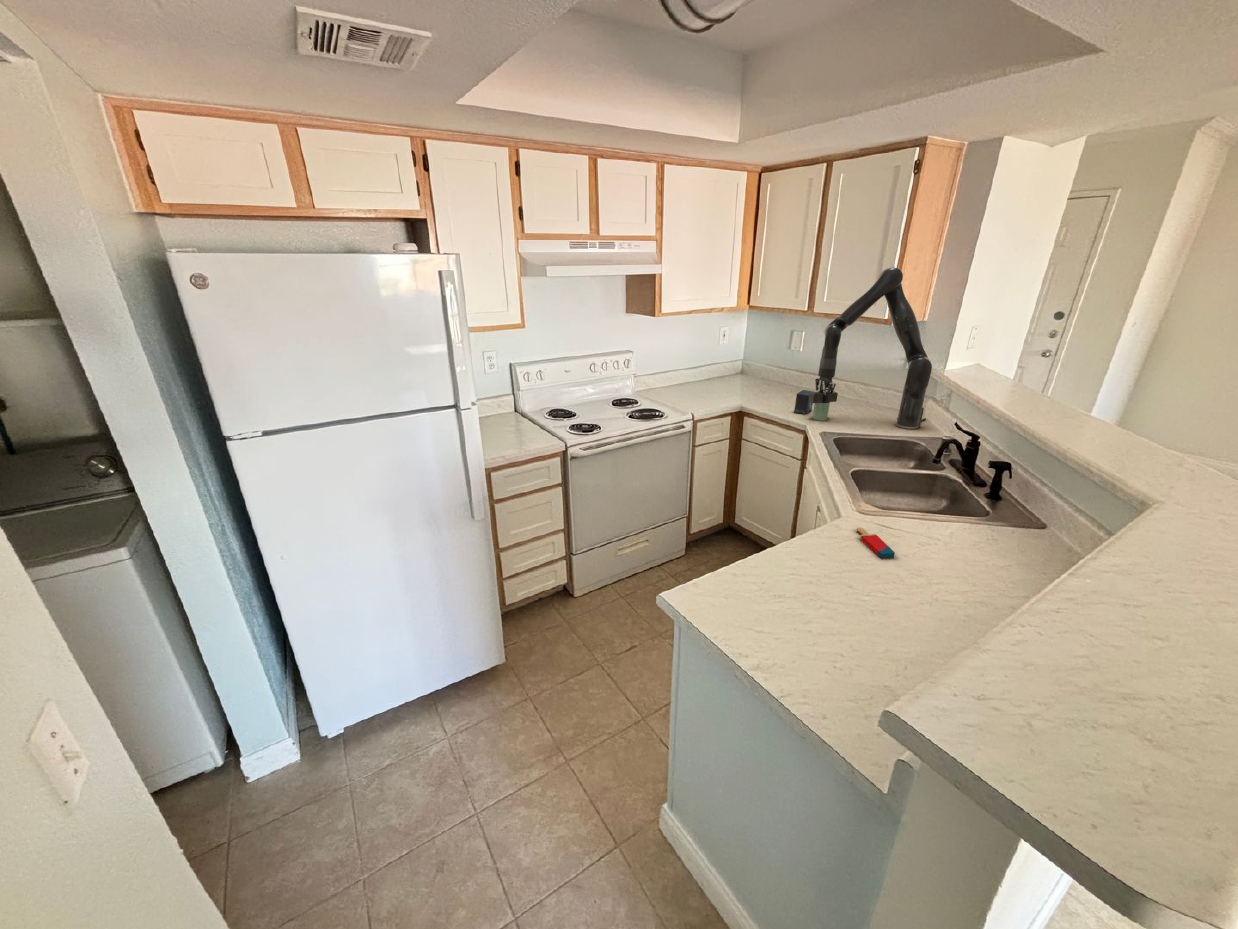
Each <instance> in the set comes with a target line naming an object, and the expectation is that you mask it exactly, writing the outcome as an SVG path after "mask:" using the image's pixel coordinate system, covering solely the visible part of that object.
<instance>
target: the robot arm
mask: <svg viewBox="0 0 1238 929" xmlns="http://www.w3.org/2000/svg"><path fill="white" fill-rule="evenodd" d="M903 280H904V273H903V271H902V270H901V269H900V268H898V267H888V268H885V269H883V270H882V271H881V272H880V274H879V275H878V277H877V281H875V283H874V284H873V285H872V286H871V287H870V288H869V289H868V290H867V291H866V292H865V293H864V294H863V295H860V297H859V298H857V299H856V300H855V301H854V302H852V303H851V304H850V305H849V306H848V307H847V308H846V309H845V310H844V311H843V312H841V314H840V315H838V316H837V317H836V318H834V320H832V321H831V322H830V323H829V324H827V325H826V327H825V328H824V331H823V334H824V341H823V342H824V343H823V346H822V349H821V355H820V356H821V357H820V360H819V366H818V372H817V376H818V377H819V378H818V377H817V378H815V381H814V382H815V392H824V398H823V402H824V403H826V402H828V398H829V395H831V394H832V393H833V391H834V390H835V388H836V383H834V382H833V379H834V378H835V376H836V369H837V363H838V352H839V346H840V343H841V339H842V332H843V331H844V330H846V329H847V328H848V327H850V326H852V325H853V324H854V323H855V322H856V321H858V320H859V319H860V318H861V317H862V316H863V315H864V314H865V313H866V312H867V311H868V310H869V309H871V307H872V306H873V305H874V304H876V303H877V302H878V301H879V300H880V299H881V298H883V297H884V298H885V300H886V303H887V308H888V312H889V316H890V319H891V322H892V326H893V328H894V331H895V332H894V333H895V334H896V336H897V339H898V340H899V342H900V344H901V346H902V348H903V350H904V353H905V357H906V358H905V359H906V362H907V363H906V364H907V374H906V377H905V383H904V385H903V390H902V394H901V400H900V404H899V410H898V414H897V417H896V422H895V425H896V427H898V428H901V429H907V430H916V429H918V428H920V427H921V424H922V422H924V421H927V418H926V417H924V418H923V415H924V410H925V407H924V403H925V397H926V393H927V390H928V387H929V383H930V378H931V375H932V370H933V364H932V361H931V359H930V358H929V357H928V355H927V353H926V350H925V348H924V346H923V343H922V338H921V331H920V326H919V322H918V319H917V317H916V313H915V312H914V309H913V308H912V305H911V304H910V302H909V301H908V299H907V297H906V295H905V291H904V289H903V284H902V282H903ZM826 391H827V393H826ZM830 391H831V392H830ZM834 392H835V391H834Z"/></svg>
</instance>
